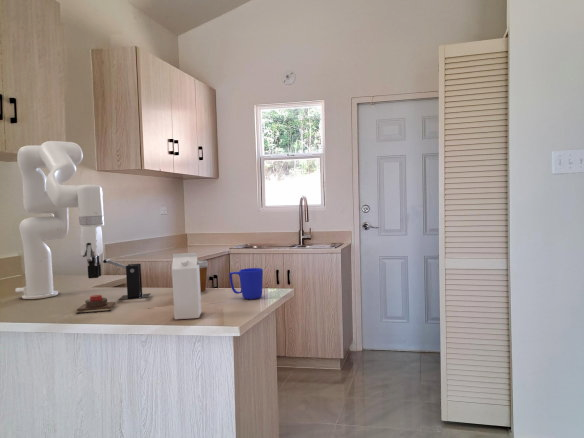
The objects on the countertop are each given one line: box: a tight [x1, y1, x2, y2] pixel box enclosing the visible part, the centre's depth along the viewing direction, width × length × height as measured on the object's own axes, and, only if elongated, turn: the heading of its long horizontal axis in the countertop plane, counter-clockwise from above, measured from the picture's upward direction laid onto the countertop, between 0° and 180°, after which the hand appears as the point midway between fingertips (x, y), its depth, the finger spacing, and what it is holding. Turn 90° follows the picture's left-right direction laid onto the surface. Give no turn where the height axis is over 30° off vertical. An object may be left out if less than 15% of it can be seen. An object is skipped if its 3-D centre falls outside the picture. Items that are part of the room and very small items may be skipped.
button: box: [89, 294, 103, 301], centre depth 155 cm, size 4×4×2 cm
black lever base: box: [118, 263, 151, 301], centre depth 170 cm, size 10×8×13 cm
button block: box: [76, 297, 116, 315], centre depth 155 cm, size 10×8×4 cm
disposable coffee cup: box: [198, 259, 209, 292], centre depth 178 cm, size 10×10×12 cm
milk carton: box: [171, 252, 202, 320], centre depth 140 cm, size 7×7×19 cm
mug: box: [228, 267, 264, 300], centre depth 164 cm, size 8×12×10 cm
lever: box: [102, 257, 127, 270], centre depth 169 cm, size 12×5×2 cm, turn 99°
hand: (94, 276), depth 155 cm, fingers closed
